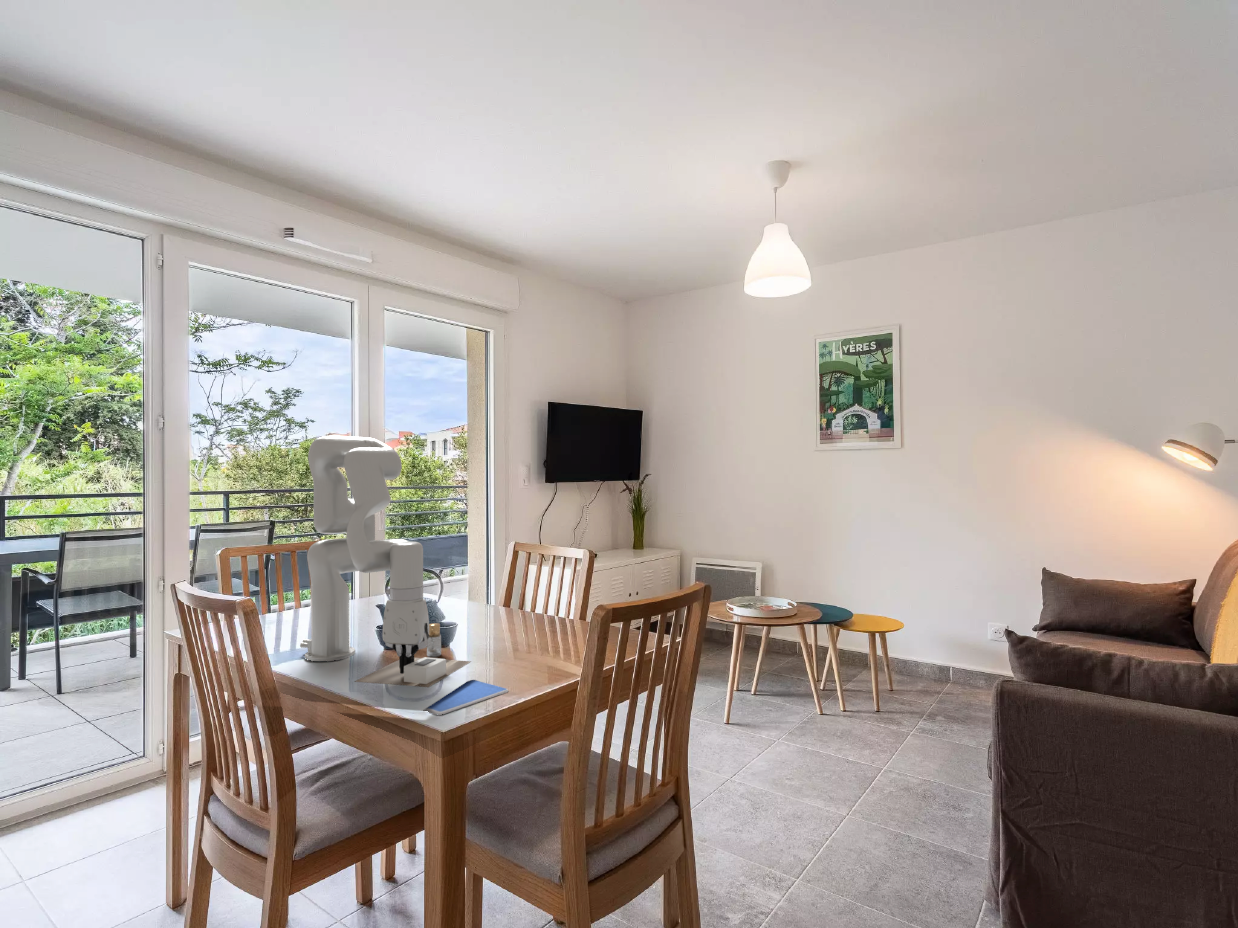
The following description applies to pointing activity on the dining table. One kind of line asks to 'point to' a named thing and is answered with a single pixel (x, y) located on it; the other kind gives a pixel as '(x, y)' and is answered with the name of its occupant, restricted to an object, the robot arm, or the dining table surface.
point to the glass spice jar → (434, 640)
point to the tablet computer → (465, 696)
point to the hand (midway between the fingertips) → (406, 671)
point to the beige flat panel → (393, 675)
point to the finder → (424, 670)
